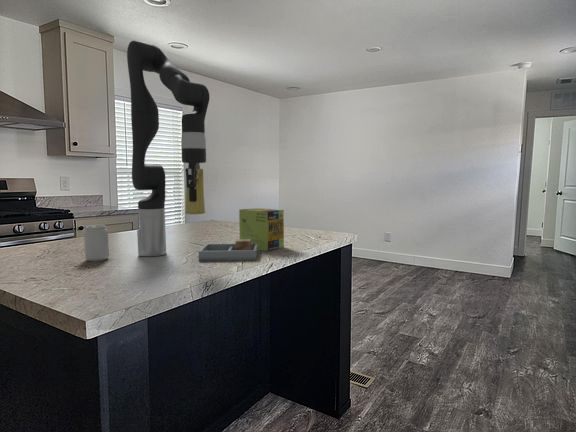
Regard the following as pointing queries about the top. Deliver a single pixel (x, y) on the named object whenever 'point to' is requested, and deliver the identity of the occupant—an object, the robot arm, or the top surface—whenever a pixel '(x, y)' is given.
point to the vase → (199, 204)
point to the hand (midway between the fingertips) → (195, 200)
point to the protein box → (262, 227)
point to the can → (96, 243)
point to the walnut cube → (243, 244)
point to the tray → (227, 252)
